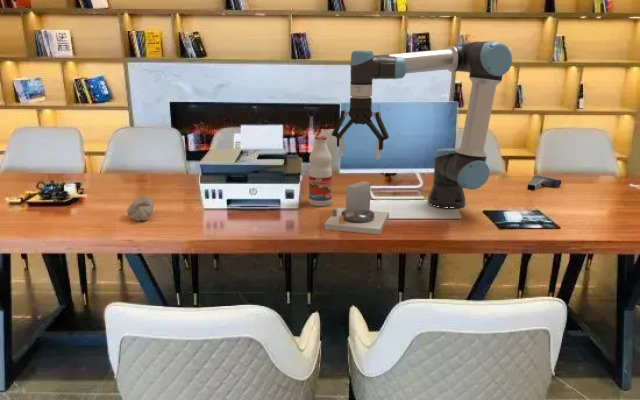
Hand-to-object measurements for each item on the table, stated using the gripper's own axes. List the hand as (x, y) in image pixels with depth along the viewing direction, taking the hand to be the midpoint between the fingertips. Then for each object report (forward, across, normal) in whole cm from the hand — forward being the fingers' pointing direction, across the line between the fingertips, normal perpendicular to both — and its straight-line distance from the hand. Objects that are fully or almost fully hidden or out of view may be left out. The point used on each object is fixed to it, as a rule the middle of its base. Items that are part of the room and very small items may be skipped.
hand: (359, 157), depth 191 cm
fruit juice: (+25, -22, +18) cm, 38 cm away
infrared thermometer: (+25, +65, +80) cm, 106 cm away
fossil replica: (+25, -77, -25) cm, 85 cm away
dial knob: (+22, 0, 0) cm, 22 cm away
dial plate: (+25, 0, 0) cm, 25 cm away
